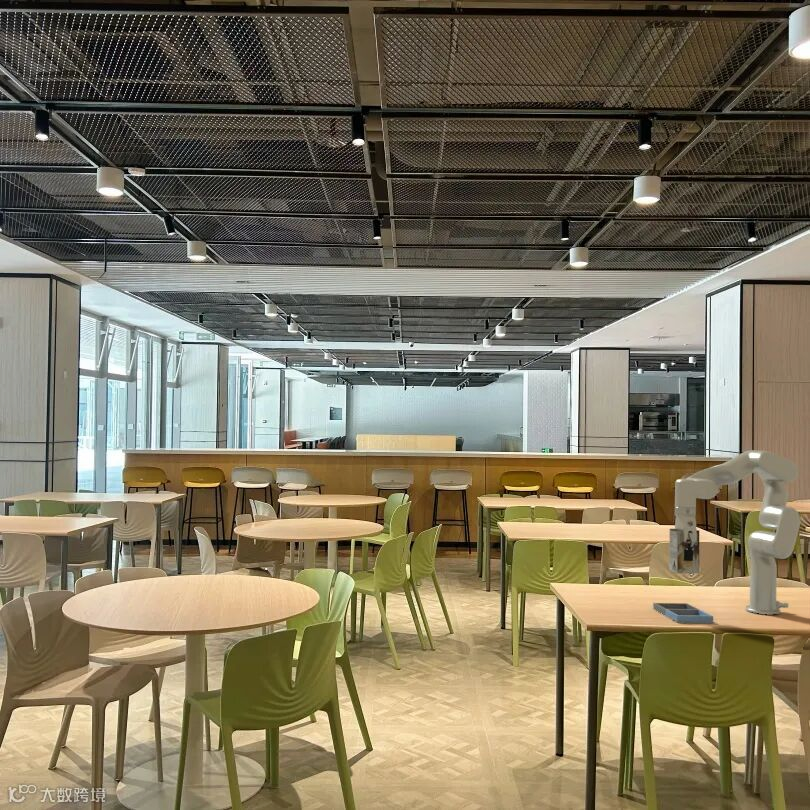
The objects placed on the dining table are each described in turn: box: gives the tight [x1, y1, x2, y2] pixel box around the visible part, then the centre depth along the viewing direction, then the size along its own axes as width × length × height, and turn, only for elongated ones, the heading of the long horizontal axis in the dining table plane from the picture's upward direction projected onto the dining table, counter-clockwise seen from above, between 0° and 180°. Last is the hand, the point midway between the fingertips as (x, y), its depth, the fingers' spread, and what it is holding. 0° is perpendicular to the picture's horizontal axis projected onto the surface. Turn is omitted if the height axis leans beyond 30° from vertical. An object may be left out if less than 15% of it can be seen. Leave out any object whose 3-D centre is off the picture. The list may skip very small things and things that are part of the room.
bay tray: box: [652, 602, 714, 624], centre depth 300 cm, size 14×22×2 cm, turn 5°
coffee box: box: [668, 528, 700, 574], centre depth 300 cm, size 9×6×16 cm
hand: (684, 558), depth 300 cm, fingers closed on coffee box, 6 cm apart
